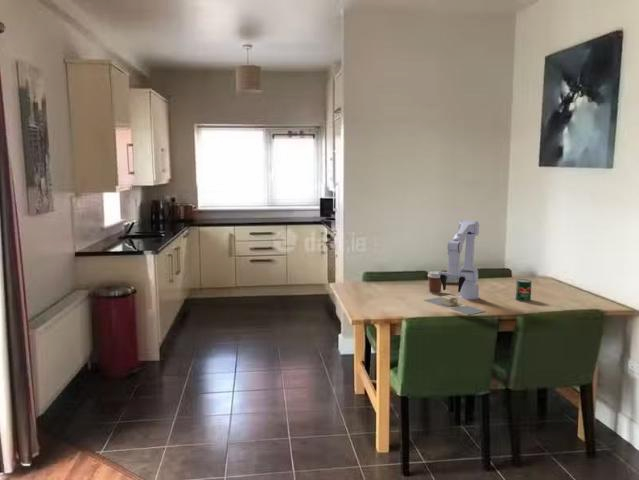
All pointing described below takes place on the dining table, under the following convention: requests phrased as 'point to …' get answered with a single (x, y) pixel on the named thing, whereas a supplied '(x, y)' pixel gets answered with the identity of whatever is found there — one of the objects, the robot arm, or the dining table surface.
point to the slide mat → (457, 307)
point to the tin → (451, 278)
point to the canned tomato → (523, 290)
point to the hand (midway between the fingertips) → (451, 290)
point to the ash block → (449, 300)
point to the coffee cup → (434, 282)
